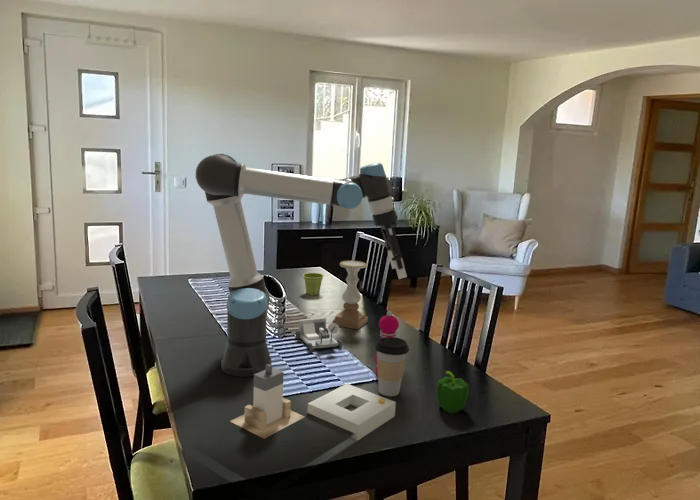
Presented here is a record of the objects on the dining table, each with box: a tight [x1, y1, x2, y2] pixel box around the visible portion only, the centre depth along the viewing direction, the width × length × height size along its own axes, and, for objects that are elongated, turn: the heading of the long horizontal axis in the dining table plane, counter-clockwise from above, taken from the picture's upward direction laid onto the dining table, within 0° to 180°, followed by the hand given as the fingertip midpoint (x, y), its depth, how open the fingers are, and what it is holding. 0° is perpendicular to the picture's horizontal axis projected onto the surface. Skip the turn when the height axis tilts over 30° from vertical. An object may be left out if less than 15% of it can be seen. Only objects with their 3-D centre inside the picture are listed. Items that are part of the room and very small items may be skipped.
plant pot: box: [302, 272, 324, 296], centre depth 254 cm, size 9×9×9 cm
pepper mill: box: [374, 310, 400, 376], centre depth 169 cm, size 7×7×20 cm
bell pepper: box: [436, 370, 470, 414], centre depth 149 cm, size 8×8×10 cm
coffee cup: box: [375, 337, 410, 397], centre depth 157 cm, size 9×9×15 cm
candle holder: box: [331, 260, 369, 330], centre depth 214 cm, size 11×11×24 cm
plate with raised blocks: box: [229, 397, 306, 440], centre depth 136 cm, size 12×14×6 cm
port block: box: [307, 383, 397, 441], centre depth 142 cm, size 16×16×5 cm
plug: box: [252, 363, 284, 425], centre depth 135 cm, size 4×6×14 cm, turn 142°
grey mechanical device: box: [295, 316, 343, 352], centre depth 192 cm, size 18×10×12 cm
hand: (399, 272), depth 183 cm, fingers open, 13 cm apart
